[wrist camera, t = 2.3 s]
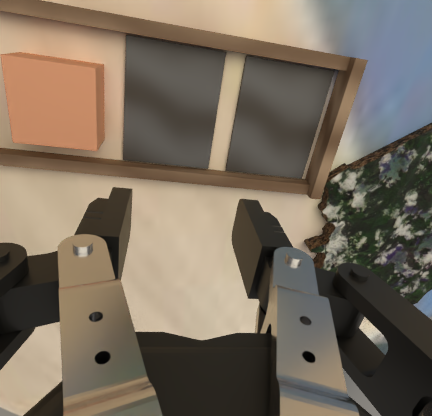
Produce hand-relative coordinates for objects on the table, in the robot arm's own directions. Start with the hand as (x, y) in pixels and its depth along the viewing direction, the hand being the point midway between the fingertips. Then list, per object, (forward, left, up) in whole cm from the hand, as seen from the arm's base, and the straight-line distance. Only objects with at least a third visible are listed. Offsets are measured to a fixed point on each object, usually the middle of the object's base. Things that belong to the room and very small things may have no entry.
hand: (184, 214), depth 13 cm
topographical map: (+8, +33, -22) cm, 41 cm away
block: (0, -10, -22) cm, 24 cm away
